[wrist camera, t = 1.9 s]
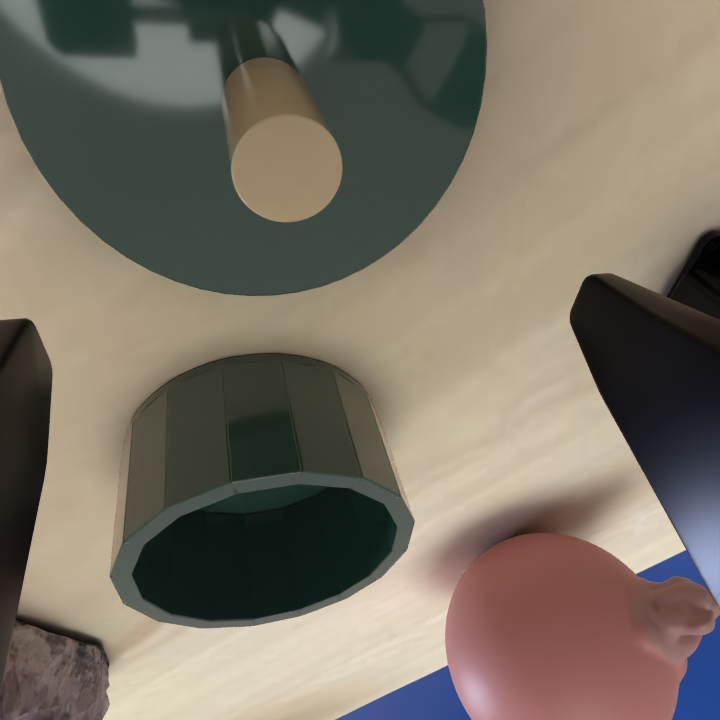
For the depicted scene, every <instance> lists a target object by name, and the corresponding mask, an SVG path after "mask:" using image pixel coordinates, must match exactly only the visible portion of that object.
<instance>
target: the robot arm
mask: <svg viewBox="0 0 720 720" xmlns="http://www.w3.org/2000/svg"><path fill="white" fill-rule="evenodd" d="M570 323H571V326H572V329H573V331H574V334H575V336H576V338H577V341H578V343H579V345H580V348H581V350H582V353H583V355H584V357H585V360H586V362H587V364H588V367H589V369H590V372H591V374H592V376H593V379H594V381H595V383H596V385H597V388H598V390H599V392H600V394H601V396H602V398H603V400H604V402H605V404H606V405H607V407H608V409H609V411H610V413H611V414H612V416H613V418H614V420H615V422H616V423H617V425H618V427H619V429H620V431H621V432H622V434H623V436H624V438H625V440H626V442H627V443H628V445H629V447H630V449H631V451H632V452H633V454H634V456H635V458H636V460H637V461H638V463H639V465H640V467H641V469H642V470H643V472H644V474H645V476H646V478H647V479H648V481H649V483H650V485H651V487H652V488H653V490H654V492H655V494H656V496H657V497H658V499H659V501H660V503H661V505H662V507H663V508H664V510H665V512H666V514H667V516H668V517H669V519H670V521H671V523H672V525H673V526H674V528H675V530H676V532H677V534H678V535H679V537H680V539H681V541H682V543H683V544H684V546H685V548H686V550H687V551H688V553H689V555H690V557H691V559H692V561H693V562H694V564H695V566H696V568H697V570H698V571H699V573H700V575H701V577H702V578H703V581H704V582H705V584H706V586H707V588H708V590H709V591H710V593H711V595H712V597H713V599H714V600H715V602H716V604H717V606H718V608H719V609H720V231H711V232H708V233H706V234H705V235H704V236H703V237H701V239H700V240H699V242H698V243H697V245H696V247H695V249H694V250H693V252H692V254H691V256H690V257H689V259H688V261H687V263H686V264H685V266H684V268H683V270H682V271H681V273H680V275H679V277H678V278H677V280H676V282H675V284H674V286H673V287H672V289H671V291H670V293H669V294H668V296H667V297H665V296H663V295H660V294H658V293H656V292H653V291H651V290H649V289H646V288H644V287H642V286H639V285H637V284H635V283H632V282H630V281H628V280H625V279H623V278H621V277H618V276H616V275H614V274H610V273H605V274H592V275H589V276H587V277H586V278H585V279H584V281H583V283H582V285H581V287H580V290H579V292H578V295H577V297H576V299H575V302H574V304H573V306H572V309H571V311H570ZM51 391H52V366H51V362H50V359H49V357H48V354H47V352H46V350H45V347H44V345H43V343H42V340H41V338H40V336H39V333H38V331H37V329H36V326H35V325H34V323H33V322H32V321H31V320H29V319H26V318H23V319H9V320H0V693H1V688H2V683H3V678H4V673H5V668H6V663H7V658H8V654H9V649H10V644H11V639H12V634H13V629H14V624H15V619H16V614H17V609H18V604H19V600H20V595H21V590H22V585H23V580H24V575H25V570H26V565H27V560H28V555H29V551H30V546H31V541H32V536H33V531H34V526H35V521H36V516H37V511H38V506H39V501H40V497H41V492H42V487H43V482H44V476H45V470H46V464H47V453H48V438H49V423H50V407H51Z"/></svg>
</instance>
